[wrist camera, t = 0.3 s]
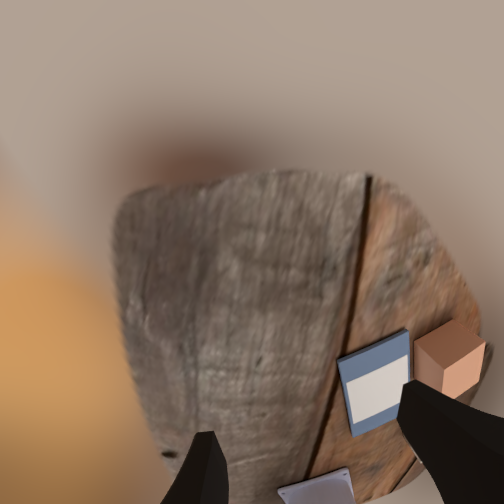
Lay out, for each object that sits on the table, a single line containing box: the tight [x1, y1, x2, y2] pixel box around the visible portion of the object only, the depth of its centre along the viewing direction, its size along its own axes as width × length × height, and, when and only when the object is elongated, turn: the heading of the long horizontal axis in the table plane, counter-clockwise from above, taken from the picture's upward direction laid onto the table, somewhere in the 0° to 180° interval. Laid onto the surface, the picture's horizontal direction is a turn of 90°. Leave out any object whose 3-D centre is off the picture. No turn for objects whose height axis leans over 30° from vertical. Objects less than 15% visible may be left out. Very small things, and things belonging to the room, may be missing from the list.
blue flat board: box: [337, 329, 410, 438], centre depth 21 cm, size 10×6×1 cm, turn 17°
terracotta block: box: [414, 319, 485, 399], centre depth 19 cm, size 4×4×4 cm
